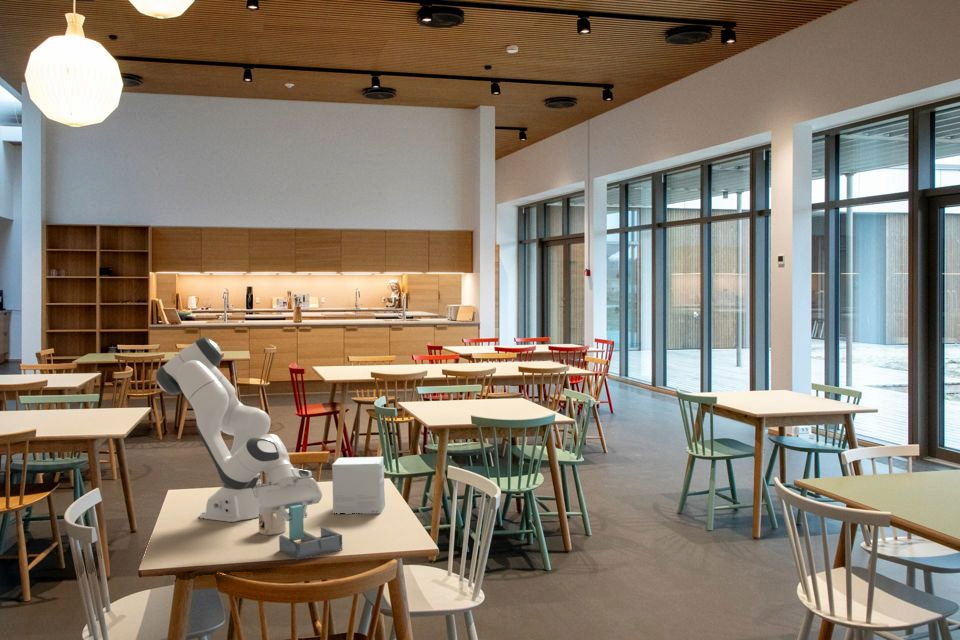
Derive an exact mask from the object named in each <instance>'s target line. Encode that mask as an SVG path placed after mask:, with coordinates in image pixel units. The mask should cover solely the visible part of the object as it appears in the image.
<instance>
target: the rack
mask: <svg viewBox="0 0 960 640" xmlns="http://www.w3.org/2000/svg"><path fill="white" fill-rule="evenodd" d="M278 543H279V551H280V552H281V553H284V554H286V555H287V556H289V557H291V558H292V557H293V558H292V559H294V558H295V559H294V560H296V561H299V560H303V559H302V558H304V559H307V558H306V557H309V558H312V557H311V556H313V557H316V556H315V555H317V556H320V554H322V555H325V554H324V553H326V554H329V553H328V552H330V553H333V552H332V551H335V552H337V551H336V550H339V551H341V550H340V549H342V550H343V535H342V534H341V533H338V532H336V531H334V530H332V529H330V528H327V527H326V526H320V536H318V537H316V536H315V535H312V534H310V533H309V532H307V531H305V530H304V539H300V540H299V541H298V540H297V541H292V540H291V539H289V537H286V536H285V535H283V534H282V535H281V534H280V535H279V536H278Z"/></svg>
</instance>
